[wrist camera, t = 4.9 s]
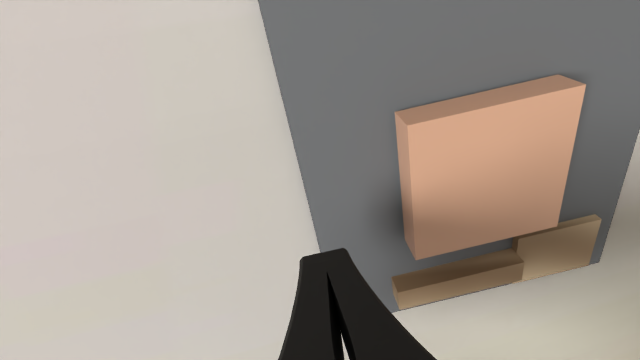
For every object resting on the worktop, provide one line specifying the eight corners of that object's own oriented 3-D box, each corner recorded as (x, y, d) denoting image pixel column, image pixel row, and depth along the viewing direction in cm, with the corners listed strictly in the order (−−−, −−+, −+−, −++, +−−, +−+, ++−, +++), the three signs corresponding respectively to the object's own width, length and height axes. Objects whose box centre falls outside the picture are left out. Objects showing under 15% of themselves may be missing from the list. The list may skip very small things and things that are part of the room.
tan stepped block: (582, 259, 19) (598, 274, 18) (394, 305, 18) (400, 322, 18) (594, 214, 17) (612, 227, 16) (389, 263, 17) (396, 279, 16)
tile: (402, 235, 16) (531, 204, 16) (415, 260, 15) (556, 226, 15) (391, 109, 13) (552, 72, 13) (407, 125, 12) (586, 84, 12)
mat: (593, 257, 19) (599, 262, 19) (337, 319, 19) (338, 325, 19) (703, -126, 11) (718, -129, 11) (251, -27, 11) (251, -27, 10)
